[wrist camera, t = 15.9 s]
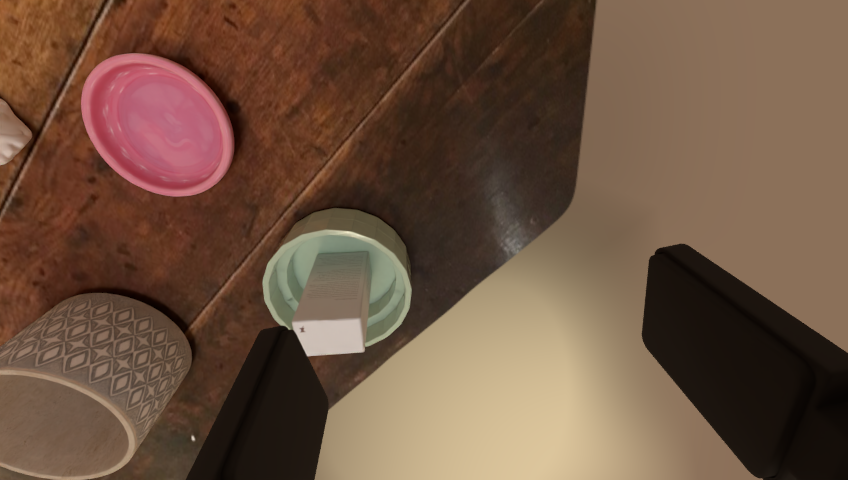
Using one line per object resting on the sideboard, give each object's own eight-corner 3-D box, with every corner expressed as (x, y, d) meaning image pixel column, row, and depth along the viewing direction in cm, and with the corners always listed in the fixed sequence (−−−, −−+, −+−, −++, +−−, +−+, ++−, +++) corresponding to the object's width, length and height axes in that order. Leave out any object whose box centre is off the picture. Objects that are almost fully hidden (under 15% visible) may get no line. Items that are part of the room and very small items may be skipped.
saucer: (116, 175, 37) (93, 185, 34) (92, 38, 32) (62, 37, 29) (244, 196, 39) (232, 207, 36) (242, 70, 33) (228, 71, 31)
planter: (212, 380, 51) (159, 474, 39) (90, 388, 50) (0, 485, 39) (172, 282, 43) (92, 364, 32) (28, 289, 42) (-106, 375, 31)
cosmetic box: (322, 283, 44) (298, 358, 33) (317, 252, 42) (289, 321, 31) (373, 281, 44) (365, 354, 33) (370, 250, 42) (360, 317, 31)
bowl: (392, 193, 40) (391, 215, 34) (421, 302, 47) (424, 335, 41) (258, 222, 40) (237, 248, 35) (307, 326, 47) (295, 360, 42)
